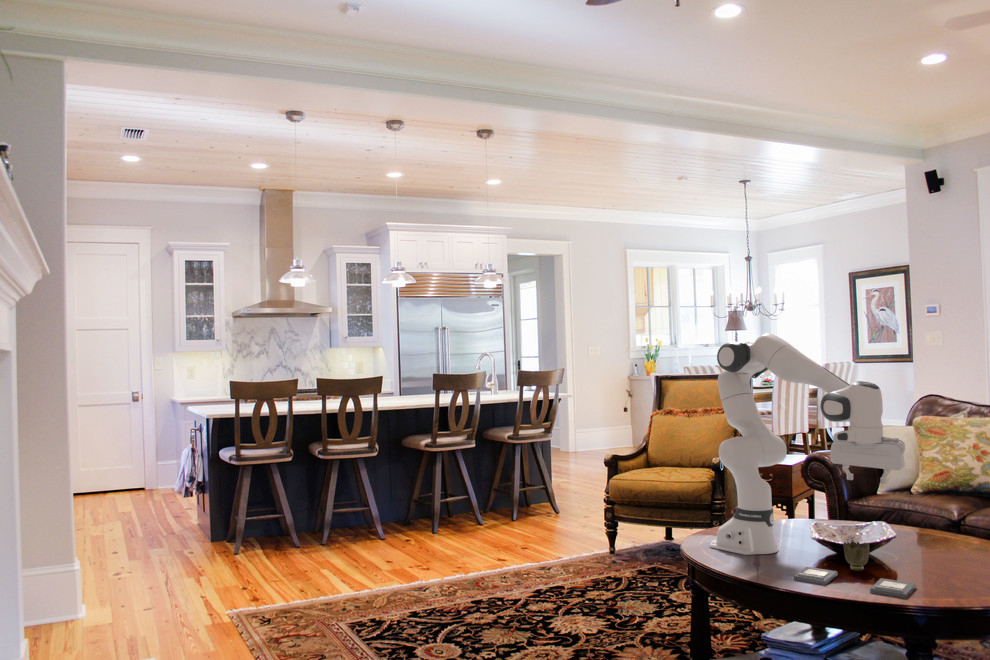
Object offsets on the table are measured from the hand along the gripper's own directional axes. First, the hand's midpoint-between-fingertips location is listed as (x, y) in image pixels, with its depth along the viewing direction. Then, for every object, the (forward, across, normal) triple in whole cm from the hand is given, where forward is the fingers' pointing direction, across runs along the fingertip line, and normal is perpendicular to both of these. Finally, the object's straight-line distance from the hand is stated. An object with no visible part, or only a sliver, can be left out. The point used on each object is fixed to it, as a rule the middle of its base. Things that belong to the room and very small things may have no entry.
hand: (866, 481), depth 228 cm
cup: (+28, +4, -4) cm, 29 cm away
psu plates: (+28, +1, +12) cm, 30 cm away
